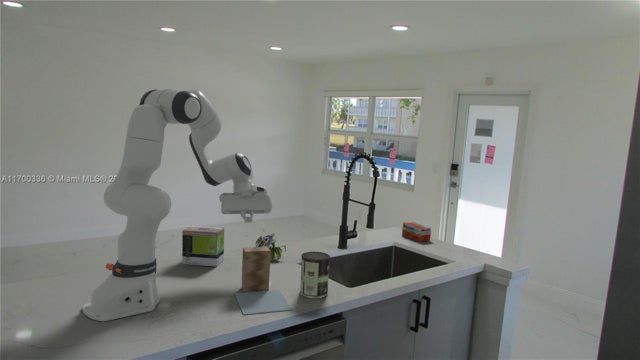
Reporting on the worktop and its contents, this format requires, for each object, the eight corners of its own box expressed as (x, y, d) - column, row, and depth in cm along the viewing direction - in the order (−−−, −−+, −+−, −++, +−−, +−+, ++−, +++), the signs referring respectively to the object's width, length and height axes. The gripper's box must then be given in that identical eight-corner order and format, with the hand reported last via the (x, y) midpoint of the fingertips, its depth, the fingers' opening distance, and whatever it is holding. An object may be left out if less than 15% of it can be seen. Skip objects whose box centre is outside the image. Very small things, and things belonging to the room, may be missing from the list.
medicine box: (430, 241, 243) (431, 227, 242) (419, 242, 238) (421, 228, 237) (411, 234, 255) (412, 221, 254) (401, 235, 251) (402, 222, 250)
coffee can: (325, 287, 164) (327, 251, 162) (330, 298, 154) (332, 259, 152) (297, 287, 162) (299, 251, 160) (301, 298, 152) (303, 259, 150)
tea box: (224, 260, 189) (225, 227, 187) (216, 267, 179) (217, 232, 177) (190, 257, 190) (191, 224, 188) (181, 264, 180) (181, 229, 179)
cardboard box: (244, 292, 154) (245, 251, 153) (241, 287, 159) (242, 247, 157) (268, 290, 158) (270, 250, 156) (265, 285, 162) (267, 246, 161)
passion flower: (258, 270, 196) (248, 243, 200) (282, 262, 202) (272, 236, 206) (266, 262, 186) (255, 234, 190) (291, 254, 192) (280, 226, 196)
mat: (234, 294, 152) (234, 293, 152) (278, 290, 158) (278, 289, 158) (243, 315, 137) (243, 314, 137) (292, 310, 142) (292, 309, 142)
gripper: (219, 188, 172) (222, 218, 164) (270, 188, 179) (275, 217, 171) (218, 197, 177) (220, 226, 169) (267, 197, 184) (272, 225, 176)
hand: (248, 221), depth 170 cm, fingers closed
